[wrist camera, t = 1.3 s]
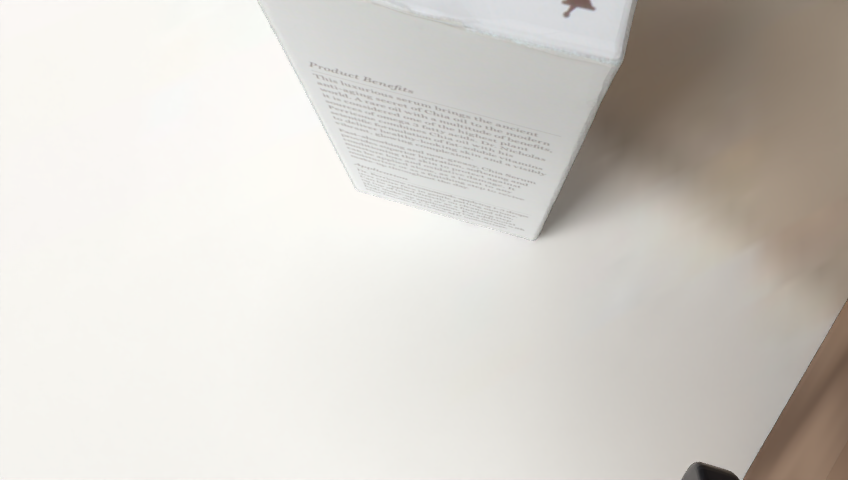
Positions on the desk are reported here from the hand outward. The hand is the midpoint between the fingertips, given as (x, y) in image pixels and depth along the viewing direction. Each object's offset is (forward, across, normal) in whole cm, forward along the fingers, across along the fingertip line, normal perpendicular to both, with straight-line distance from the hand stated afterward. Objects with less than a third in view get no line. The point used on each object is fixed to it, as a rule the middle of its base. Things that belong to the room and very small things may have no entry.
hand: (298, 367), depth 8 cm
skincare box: (+14, 0, +4) cm, 15 cm away
